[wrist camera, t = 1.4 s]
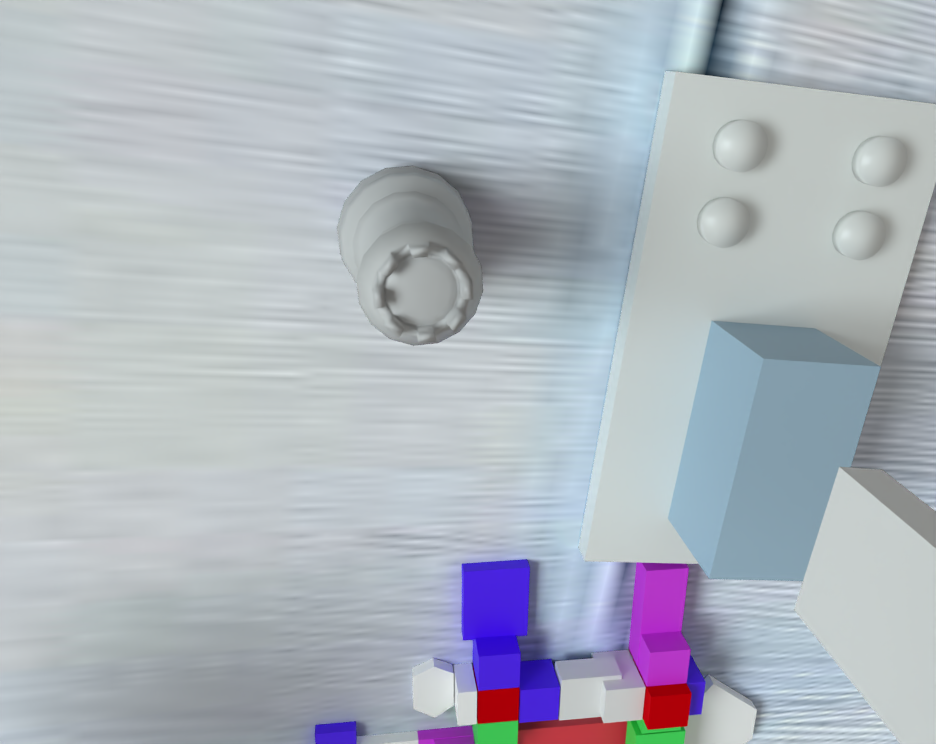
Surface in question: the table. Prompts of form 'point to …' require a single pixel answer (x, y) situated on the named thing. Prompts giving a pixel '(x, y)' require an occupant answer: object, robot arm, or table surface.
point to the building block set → (569, 677)
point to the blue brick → (767, 447)
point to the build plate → (748, 265)
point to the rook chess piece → (411, 255)
